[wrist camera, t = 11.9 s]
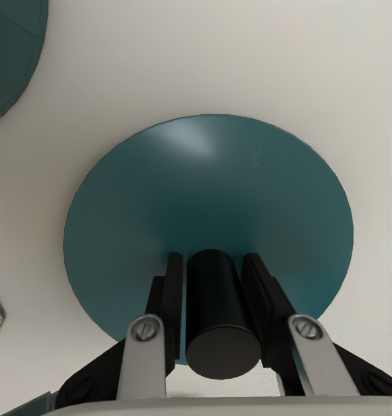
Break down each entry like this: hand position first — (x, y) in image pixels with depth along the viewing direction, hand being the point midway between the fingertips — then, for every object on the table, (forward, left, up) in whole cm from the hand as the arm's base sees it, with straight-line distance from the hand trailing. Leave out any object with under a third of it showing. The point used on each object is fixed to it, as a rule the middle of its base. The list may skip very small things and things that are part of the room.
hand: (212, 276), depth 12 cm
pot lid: (0, 0, -1) cm, 1 cm away
